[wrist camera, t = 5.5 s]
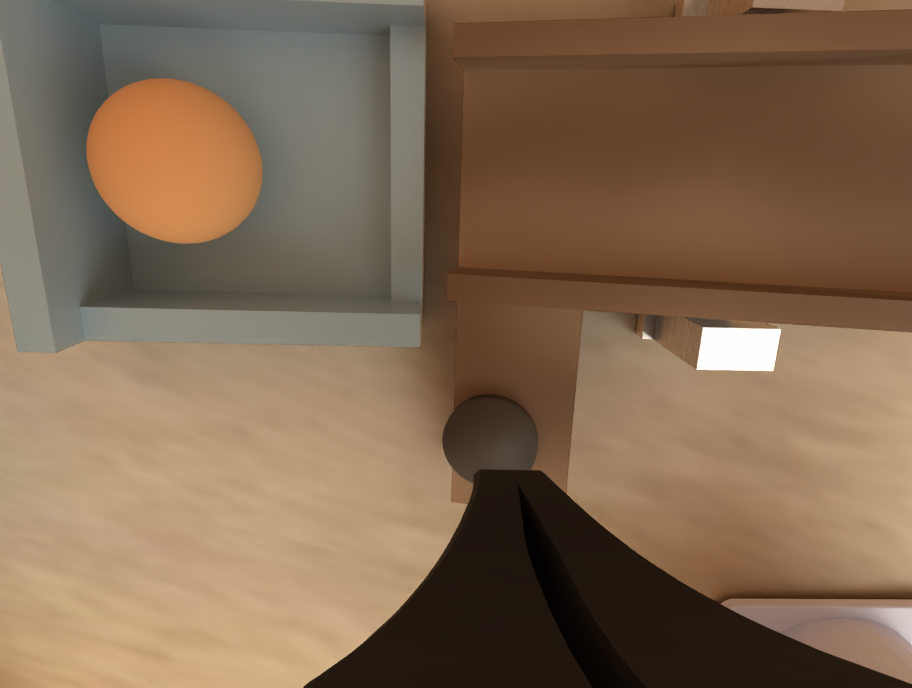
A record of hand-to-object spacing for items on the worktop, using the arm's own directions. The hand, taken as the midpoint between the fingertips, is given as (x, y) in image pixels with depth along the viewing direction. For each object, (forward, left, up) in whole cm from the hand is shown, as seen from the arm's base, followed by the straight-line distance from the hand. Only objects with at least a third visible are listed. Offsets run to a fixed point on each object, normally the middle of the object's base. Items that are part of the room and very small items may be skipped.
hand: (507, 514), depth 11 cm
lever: (+4, -7, -3) cm, 9 cm away
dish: (+7, +6, -6) cm, 11 cm away
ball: (+7, +7, -4) cm, 10 cm away
